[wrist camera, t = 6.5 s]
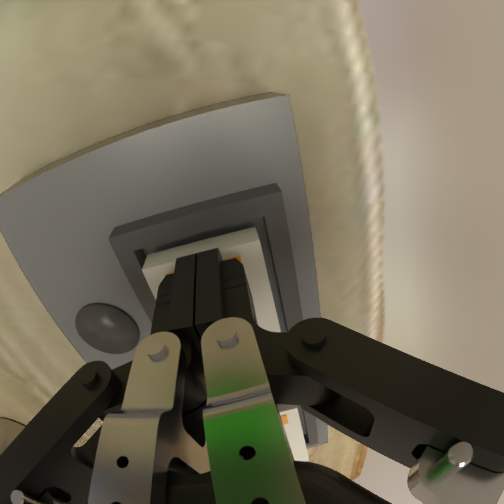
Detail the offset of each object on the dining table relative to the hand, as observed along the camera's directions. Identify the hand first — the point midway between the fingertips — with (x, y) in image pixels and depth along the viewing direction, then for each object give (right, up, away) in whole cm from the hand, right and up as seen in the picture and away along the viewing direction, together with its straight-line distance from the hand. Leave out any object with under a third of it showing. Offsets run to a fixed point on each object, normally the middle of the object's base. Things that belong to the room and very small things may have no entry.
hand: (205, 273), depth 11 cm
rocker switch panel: (-1, -6, +10) cm, 12 cm away
